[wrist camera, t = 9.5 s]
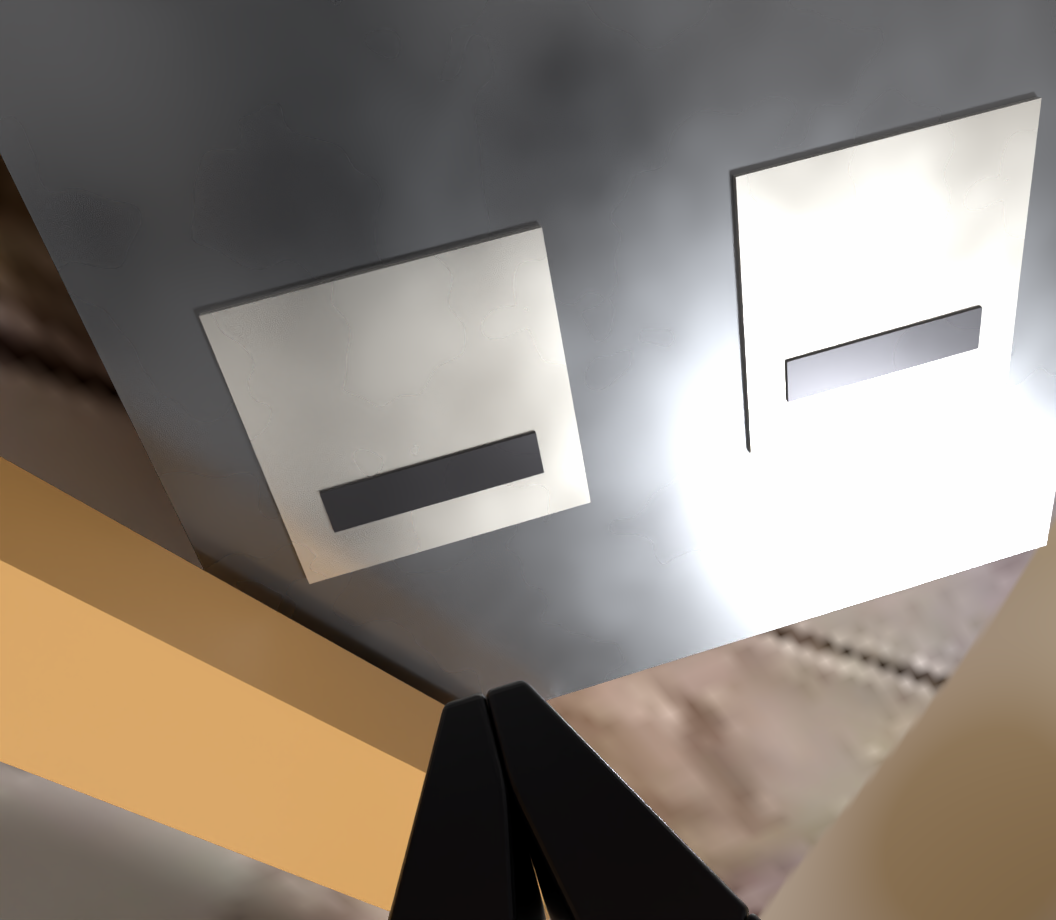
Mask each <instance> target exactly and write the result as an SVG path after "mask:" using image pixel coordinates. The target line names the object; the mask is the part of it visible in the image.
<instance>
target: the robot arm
mask: <svg viewBox="0 0 1056 920" xmlns="http://www.w3.org/2000/svg"><path fill="white" fill-rule="evenodd" d="M486 698H487V700H486ZM486 698H485V696H484V695H483V694H480V693H478V694H474V695H470V696H467V697H464V698H461V699H457V700H454V701H451V702H449V703H447V704H446V705H445V706H444V708H443V710H442V713H441V717H440V721H439V725H438V728H437V732H436V736H435V740H434V744H433V748H432V752H431V755H430V759H429V763H428V767H427V771H426V775H425V779H424V782H423V786H422V790H421V794H420V798H419V802H418V806H417V809H416V813H415V817H414V821H413V825H412V829H411V832H410V836H409V840H408V844H407V848H406V852H405V856H404V859H403V863H402V867H401V871H400V875H399V879H398V883H397V886H396V890H395V894H394V898H393V902H392V906H391V909H390V913H389V917H388V920H546V915H545V910H544V905H543V901H542V897H541V893H542V896H543V899H544V902H545V906H546V909H547V912H548V914H549V917H550V920H761V919H760V918H759V917H758V916H757V915H755V914H750V915H749V909H748V907H747V906H746V905H745V904H744V903H743V902H742V901H741V900H740V899H739V898H738V897H737V896H736V895H735V894H734V893H733V892H732V891H731V889H730V888H729V887H728V886H727V885H726V884H725V883H724V882H723V881H722V880H721V879H720V878H719V877H718V876H717V875H716V874H715V873H714V872H713V871H712V870H711V869H710V868H709V867H708V866H707V865H706V864H705V863H704V862H703V861H702V860H701V859H700V858H699V857H698V856H697V855H696V854H695V853H694V852H693V851H692V850H691V849H690V848H689V847H688V846H687V845H686V844H685V843H684V842H683V841H682V840H681V839H680V837H679V836H678V835H677V834H676V833H675V832H674V831H673V830H672V829H671V828H670V827H669V826H668V825H667V824H666V823H665V822H664V821H663V820H662V819H661V818H660V817H659V816H658V815H657V814H656V813H655V812H654V811H653V810H652V809H651V808H650V807H649V806H648V805H647V804H646V803H645V802H644V801H643V800H642V799H641V798H640V797H639V796H638V795H637V794H636V793H635V792H634V791H633V790H632V789H631V788H630V787H629V785H628V784H627V783H626V782H625V781H624V780H623V779H622V778H621V777H620V776H619V775H618V774H617V773H616V772H615V771H614V770H613V769H612V768H611V767H610V766H609V765H608V764H607V763H606V762H605V761H604V760H603V759H602V758H601V757H600V756H599V755H598V754H597V753H596V752H595V751H594V750H593V749H592V748H591V747H590V746H589V745H588V744H587V743H586V742H585V741H584V740H583V739H582V738H581V737H580V736H579V735H578V733H577V732H576V731H575V730H574V729H573V728H572V727H571V726H570V725H569V724H568V723H567V722H566V721H565V720H564V719H563V718H562V717H561V716H560V715H559V714H558V713H557V712H556V711H555V710H554V709H553V708H552V707H551V706H550V705H549V704H548V703H547V702H546V701H545V700H544V699H543V698H542V697H541V696H540V695H539V694H538V693H537V692H536V691H535V690H534V689H533V688H532V687H531V686H530V685H529V684H528V683H527V682H525V681H522V680H520V681H516V682H513V683H509V684H506V685H503V686H500V687H496V688H493V689H491V690H489V691H488V692H487V695H486ZM535 873H536V874H535ZM536 876H537V877H536ZM537 880H538V881H537ZM538 883H539V885H538ZM539 886H540V889H541V893H540V889H539Z"/></svg>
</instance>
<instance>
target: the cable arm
mask: <svg viewBox="0 0 1056 920" xmlns="http://www.w3.org/2000/svg"><path fill="white" fill-rule="evenodd" d="M444 706H445V705H443V704H441V703H440V702H438V701H436V700H434V699H433V698H431V697H429V696H427V695H425V694H424V693H422V692H420V691H418V690H416V689H415V688H413V687H411V686H409V685H408V684H406V683H404V682H402V681H400V680H399V679H397V678H395V677H393V676H391V675H390V674H388V673H386V672H384V671H382V670H381V669H379V668H377V667H375V666H374V665H372V664H370V663H368V662H366V661H365V660H363V659H361V658H359V657H357V656H356V655H354V654H352V653H350V652H349V651H347V650H345V649H343V648H341V647H340V646H338V645H336V644H334V643H332V642H331V641H329V640H327V639H325V638H324V637H322V636H320V635H318V634H316V633H315V632H313V631H311V630H309V629H307V628H306V627H304V626H302V625H300V624H299V623H297V622H295V621H293V620H291V619H290V618H288V617H286V616H284V615H282V614H281V613H279V612H277V611H275V610H274V609H272V608H270V607H268V606H266V605H265V604H263V603H261V602H259V601H257V600H256V599H254V598H252V597H250V596H249V595H247V594H245V593H243V592H241V591H240V590H238V589H236V588H234V587H232V586H231V585H229V584H227V583H225V582H224V581H222V580H220V579H218V578H216V577H215V576H213V575H211V574H209V573H207V572H206V571H204V570H202V569H200V568H199V567H197V566H195V565H193V564H191V563H190V562H188V561H186V560H184V559H182V558H181V557H179V556H177V555H175V554H174V553H172V552H170V551H168V550H166V549H165V548H163V547H161V546H159V545H157V544H156V543H154V542H152V541H150V540H149V539H147V538H145V537H143V536H141V535H140V534H138V533H136V532H134V531H132V530H131V529H129V528H127V527H125V526H124V525H122V524H120V523H118V522H116V521H115V520H113V519H111V518H109V517H107V516H106V515H104V514H102V513H100V512H99V511H97V510H95V509H93V508H91V507H90V506H88V505H86V504H84V503H82V502H81V501H79V500H77V499H75V498H74V497H72V496H70V495H68V494H66V493H65V492H63V491H61V490H59V489H57V488H56V487H54V486H52V485H50V484H48V483H47V482H45V481H43V480H41V479H40V478H38V477H36V476H34V475H32V474H31V473H29V472H27V471H25V470H23V469H22V468H20V467H18V466H16V465H15V464H13V463H11V462H9V461H7V460H6V459H4V458H2V457H0V761H1V762H3V763H6V764H9V765H11V766H14V767H16V768H19V769H22V770H24V771H27V772H29V773H32V774H35V775H37V776H40V777H42V778H45V779H48V780H50V781H53V782H55V783H58V784H61V785H63V786H66V787H68V788H71V789H74V790H76V791H79V792H81V793H84V794H86V795H89V796H92V797H94V798H97V799H99V800H102V801H105V802H107V803H110V804H112V805H115V806H118V807H120V808H123V809H125V810H128V811H131V812H133V813H136V814H138V815H141V816H144V817H146V818H149V819H151V820H154V821H157V822H159V823H162V824H164V825H167V826H170V827H172V828H175V829H177V830H180V831H182V832H185V833H188V834H190V835H193V836H195V837H198V838H201V839H203V840H206V841H208V842H211V843H214V844H216V845H219V846H221V847H224V848H227V849H229V850H232V851H234V852H237V853H240V854H242V855H245V856H247V857H250V858H253V859H255V860H258V861H260V862H263V863H266V864H268V865H271V866H273V867H276V868H278V869H281V870H284V871H286V872H289V873H291V874H294V875H297V876H299V877H302V878H304V879H307V880H310V881H312V882H315V883H317V884H320V885H323V886H325V887H328V888H330V889H333V890H336V891H338V892H341V893H343V894H346V895H349V896H351V897H354V898H356V899H359V900H362V901H364V902H367V903H369V904H372V905H374V906H377V907H380V908H382V909H385V910H387V911H390V909H391V906H392V902H393V898H394V894H395V890H396V886H397V883H398V879H399V875H400V871H401V867H402V863H403V859H404V856H405V852H406V848H407V844H408V840H409V836H410V832H411V829H412V825H413V821H414V817H415V813H416V809H417V806H418V802H419V798H420V794H421V790H422V786H423V782H424V779H425V775H426V771H427V767H428V763H429V759H430V755H431V752H432V748H433V744H434V740H435V736H436V732H437V728H438V725H439V721H440V717H441V713H442V710H443V708H444ZM535 874H536V873H535ZM536 877H537V876H536ZM537 881H538V880H537ZM538 885H539V883H538ZM539 889H540V886H539ZM540 893H541V889H540ZM541 897H542V901H543V905H544V910H545V915H546V920H550V917H549V914H548V912H547V909H546V906H545V902H544V899H543V896H542V893H541Z"/></svg>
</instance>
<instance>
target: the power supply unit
mask: <svg viewBox="0 0 1056 920" xmlns="http://www.w3.org/2000/svg"><path fill="white" fill-rule="evenodd" d="M0 154H1V156H2V158H3V160H4V162H5V164H6V166H7V168H8V170H9V172H10V174H11V176H12V178H13V180H14V182H15V185H16V187H17V189H18V191H19V193H20V195H21V197H22V199H23V201H24V203H25V205H26V207H27V209H28V211H29V213H30V215H31V217H32V219H33V221H34V223H35V225H36V227H37V229H38V232H39V234H40V236H41V238H42V240H43V242H44V244H45V246H46V248H47V250H48V252H49V254H50V256H51V258H52V260H53V262H54V264H55V266H56V268H57V270H58V272H59V274H60V276H61V279H62V281H63V283H64V285H65V287H66V289H67V291H68V293H69V295H70V297H71V299H72V301H73V303H74V305H75V307H76V309H77V311H78V313H79V315H80V317H81V319H82V321H83V323H84V326H85V328H86V330H87V332H88V334H89V336H90V338H91V340H92V342H93V344H94V346H95V348H96V350H97V352H98V354H99V356H100V358H101V360H102V362H103V364H104V366H105V368H106V370H107V373H108V375H109V377H110V379H111V381H112V383H113V385H114V387H115V389H116V391H117V393H118V395H119V397H120V399H121V401H122V403H123V405H124V407H125V409H126V411H127V413H128V415H129V417H130V419H131V422H132V424H133V426H134V428H135V430H136V432H137V434H138V436H139V438H140V440H141V442H142V444H143V446H144V448H145V450H146V452H147V454H148V456H149V458H150V460H151V462H152V464H153V466H154V469H155V471H156V473H157V475H158V477H159V479H160V481H161V483H162V485H163V487H164V489H165V491H166V493H167V495H168V497H169V499H170V501H171V503H172V505H173V507H174V509H175V511H176V513H177V516H178V518H179V520H180V522H181V524H182V526H183V528H184V530H185V532H186V534H187V536H188V538H189V540H190V542H191V544H192V546H193V548H194V550H195V552H196V554H197V556H198V558H199V560H200V563H201V565H202V567H203V569H204V571H206V572H207V573H209V574H211V575H213V576H215V577H216V578H218V579H220V580H222V581H224V582H225V583H227V584H229V585H231V586H232V587H234V588H236V589H238V590H240V591H241V592H243V593H245V594H247V595H249V596H250V597H252V598H254V599H256V600H257V601H259V602H261V603H263V604H265V605H266V606H268V607H270V608H272V609H274V610H275V611H277V612H279V613H281V614H282V615H284V616H286V617H288V618H290V619H291V620H293V621H295V622H297V623H299V624H300V625H302V626H304V627H306V628H307V629H309V630H311V631H313V632H315V633H316V634H318V635H320V636H322V637H324V638H325V639H327V640H329V641H331V642H332V643H334V644H336V645H338V646H340V647H341V648H343V649H345V650H347V651H349V652H350V653H352V654H354V655H356V656H357V657H359V658H361V659H363V660H365V661H366V662H368V663H370V664H372V665H374V666H375V667H377V668H379V669H381V670H382V671H384V672H386V673H388V674H390V675H391V676H393V677H395V678H397V679H399V680H400V681H402V682H404V683H406V684H408V685H409V686H411V687H413V688H415V689H416V690H418V691H420V692H422V693H424V694H425V695H427V696H429V697H431V698H433V699H434V700H436V701H438V702H440V703H441V704H443V705H446V704H447V703H449V702H451V701H454V700H457V699H461V698H464V697H467V696H470V695H474V694H478V693H480V694H483V695H484V696H485V698H486V695H487V692H488V691H489V690H491V689H493V688H496V687H500V686H503V685H506V684H509V683H513V682H516V681H520V680H522V681H525V682H527V683H528V684H529V685H530V686H531V687H532V688H533V689H534V690H535V691H536V692H537V693H538V694H539V695H540V696H541V697H542V698H543V699H544V700H545V701H546V700H549V699H552V698H555V697H558V696H562V695H565V694H568V693H571V692H574V691H578V690H581V689H584V688H587V687H591V686H594V685H597V684H600V683H603V682H607V681H610V680H613V679H616V678H619V677H623V676H626V675H629V674H632V673H636V672H639V671H642V670H645V669H648V668H652V667H655V666H658V665H661V664H664V663H668V662H671V661H674V660H677V659H681V658H684V657H687V656H690V655H693V654H697V653H700V652H703V651H706V650H709V649H713V648H716V647H719V646H722V645H726V644H729V643H732V642H735V641H738V640H742V639H745V638H748V637H751V636H755V635H758V634H761V633H764V632H767V631H771V630H774V629H777V628H780V627H783V626H787V625H790V624H793V623H796V622H800V621H803V620H806V619H809V618H812V617H816V616H819V615H822V614H825V613H828V612H832V611H835V610H838V609H841V608H845V607H848V606H851V605H854V604H857V603H861V602H864V601H867V600H870V599H873V598H877V597H880V596H883V595H886V594H890V593H893V592H896V591H899V590H902V589H906V588H909V587H912V586H915V585H918V584H922V583H925V582H928V581H931V580H935V579H938V578H941V577H944V576H947V575H951V574H954V573H957V572H960V571H963V570H967V569H970V568H973V567H976V566H980V565H983V564H986V563H989V562H992V561H996V560H999V559H1002V558H1005V557H1008V556H1012V555H1015V554H1018V553H1021V552H1025V551H1028V550H1031V549H1034V548H1037V547H1041V546H1044V545H1046V543H1047V537H1048V531H1049V525H1050V519H1051V513H1052V507H1053V501H1054V495H1055V489H1056V0H0ZM486 700H487V698H486Z"/></svg>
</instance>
